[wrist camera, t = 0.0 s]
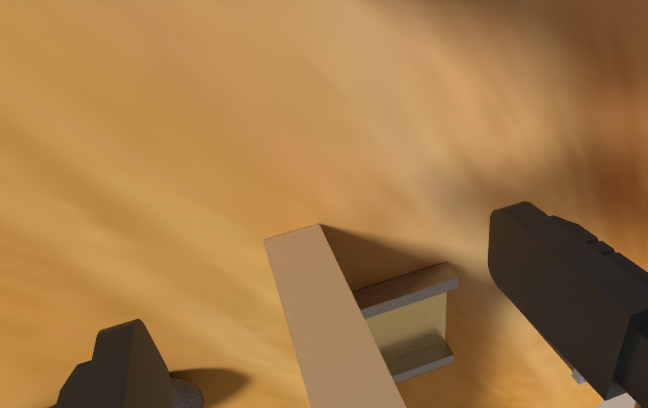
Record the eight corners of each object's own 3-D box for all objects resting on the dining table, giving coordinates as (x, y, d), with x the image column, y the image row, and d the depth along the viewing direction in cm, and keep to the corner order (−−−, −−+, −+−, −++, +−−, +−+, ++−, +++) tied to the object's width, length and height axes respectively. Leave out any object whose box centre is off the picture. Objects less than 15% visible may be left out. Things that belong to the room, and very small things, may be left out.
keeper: (332, 298, 35) (344, 326, 33) (446, 261, 37) (465, 286, 35) (347, 379, 42) (358, 407, 40) (443, 345, 44) (459, 371, 41)
